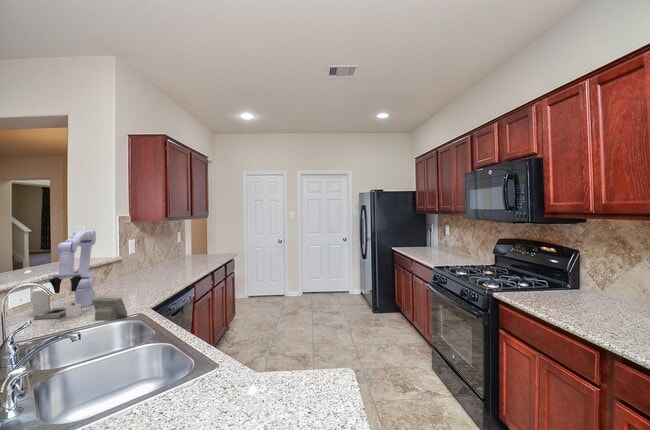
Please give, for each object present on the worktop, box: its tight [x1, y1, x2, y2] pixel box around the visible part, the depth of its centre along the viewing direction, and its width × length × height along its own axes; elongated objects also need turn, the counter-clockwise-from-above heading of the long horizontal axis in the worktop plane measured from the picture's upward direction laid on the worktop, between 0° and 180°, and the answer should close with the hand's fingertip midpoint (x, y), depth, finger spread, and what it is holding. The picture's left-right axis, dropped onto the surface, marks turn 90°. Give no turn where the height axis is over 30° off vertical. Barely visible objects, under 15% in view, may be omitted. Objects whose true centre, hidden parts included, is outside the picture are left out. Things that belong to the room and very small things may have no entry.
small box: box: [31, 286, 51, 317], centre depth 159 cm, size 8×6×13 cm
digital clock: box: [92, 296, 128, 321], centre depth 149 cm, size 16×9×11 cm, turn 71°
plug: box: [65, 302, 82, 318], centre depth 154 cm, size 4×4×6 cm
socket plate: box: [33, 307, 66, 321], centre depth 155 cm, size 12×12×3 cm
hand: (65, 292), depth 150 cm, fingers open, 7 cm apart
